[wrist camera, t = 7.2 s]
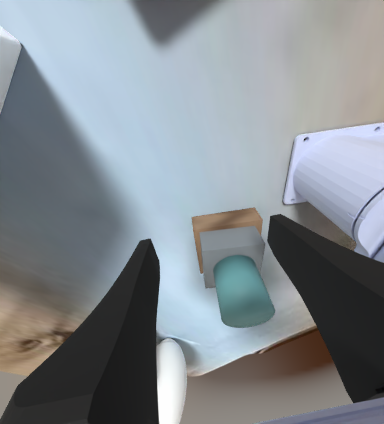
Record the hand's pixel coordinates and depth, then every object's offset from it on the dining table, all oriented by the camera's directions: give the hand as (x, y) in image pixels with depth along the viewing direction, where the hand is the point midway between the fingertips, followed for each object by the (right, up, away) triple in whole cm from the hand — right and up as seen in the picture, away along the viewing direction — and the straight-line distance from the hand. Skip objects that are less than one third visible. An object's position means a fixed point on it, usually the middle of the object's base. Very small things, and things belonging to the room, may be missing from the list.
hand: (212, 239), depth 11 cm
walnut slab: (+3, -1, +14) cm, 15 cm away
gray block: (+3, -3, +12) cm, 13 cm away
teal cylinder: (+4, -5, +9) cm, 11 cm away
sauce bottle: (-7, -28, +31) cm, 42 cm away
